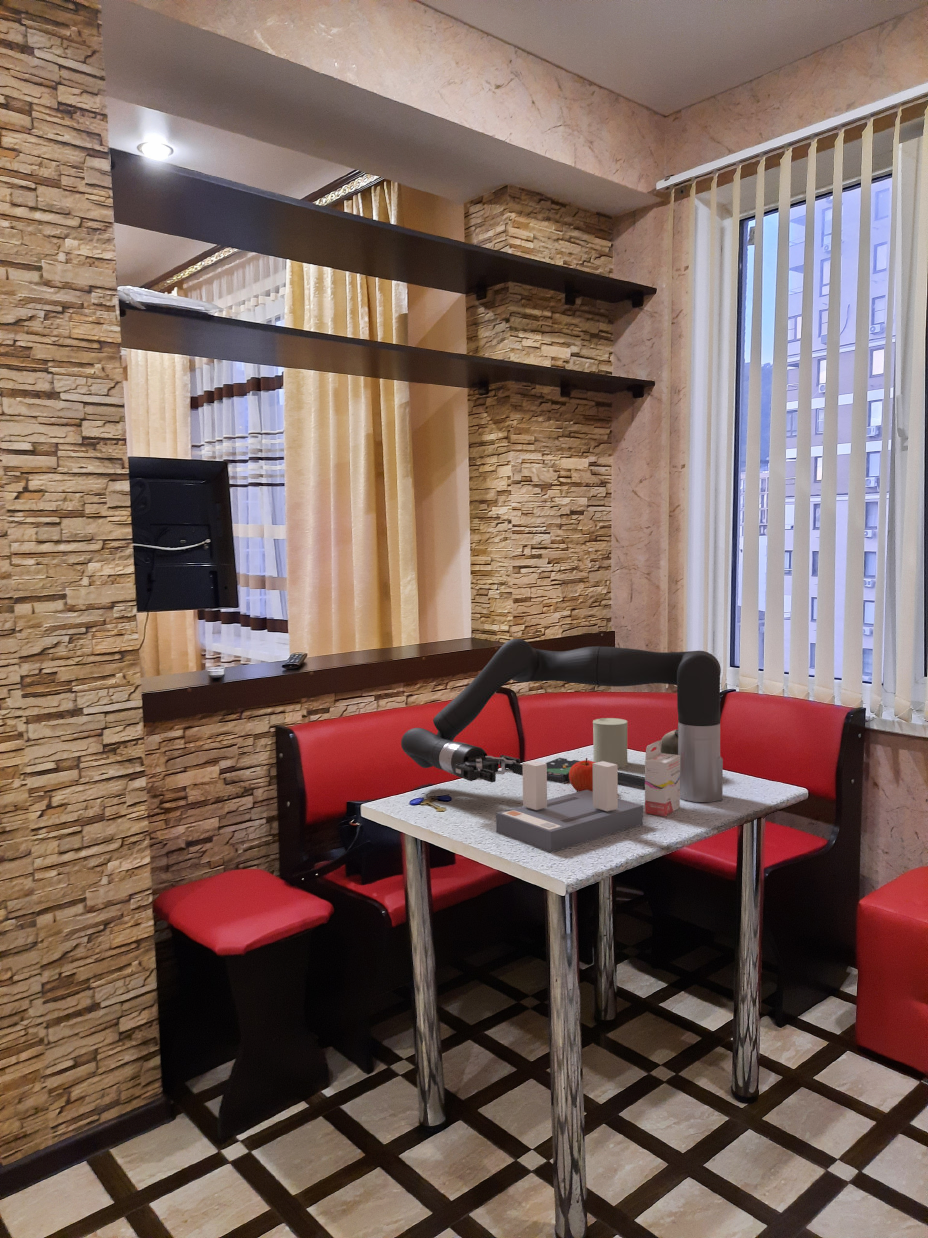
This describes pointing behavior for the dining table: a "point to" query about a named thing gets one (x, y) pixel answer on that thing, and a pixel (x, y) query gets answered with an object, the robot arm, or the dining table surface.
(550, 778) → the disk drive
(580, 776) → the apple
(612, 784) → the switch tab
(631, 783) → the phone
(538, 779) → the switch tab
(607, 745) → the can
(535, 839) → the block
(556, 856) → the dining table surface
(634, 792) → the dining table surface
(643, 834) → the dining table surface
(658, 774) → the ink cartridge box
